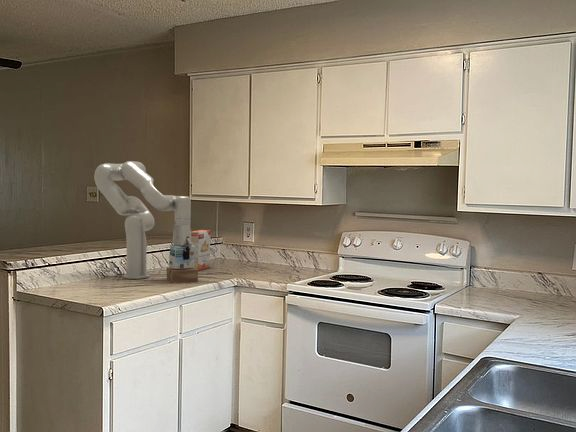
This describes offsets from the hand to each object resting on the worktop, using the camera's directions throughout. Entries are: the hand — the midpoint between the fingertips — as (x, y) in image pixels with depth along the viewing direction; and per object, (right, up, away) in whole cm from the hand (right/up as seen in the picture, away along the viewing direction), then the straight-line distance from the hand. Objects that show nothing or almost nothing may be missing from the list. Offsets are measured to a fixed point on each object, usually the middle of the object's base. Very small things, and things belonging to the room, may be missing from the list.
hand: (182, 258), depth 288 cm
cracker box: (+3, -9, +37) cm, 38 cm away
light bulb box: (0, -5, +1) cm, 5 cm away
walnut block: (0, -11, +1) cm, 11 cm away
